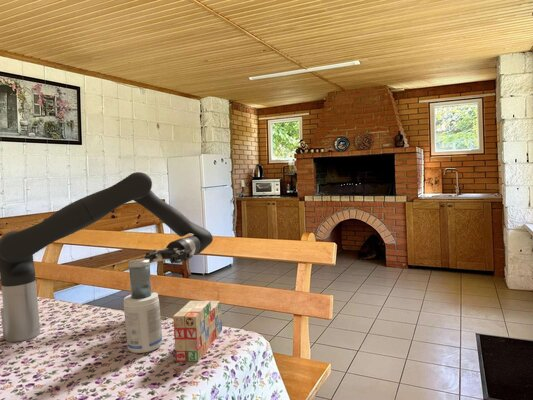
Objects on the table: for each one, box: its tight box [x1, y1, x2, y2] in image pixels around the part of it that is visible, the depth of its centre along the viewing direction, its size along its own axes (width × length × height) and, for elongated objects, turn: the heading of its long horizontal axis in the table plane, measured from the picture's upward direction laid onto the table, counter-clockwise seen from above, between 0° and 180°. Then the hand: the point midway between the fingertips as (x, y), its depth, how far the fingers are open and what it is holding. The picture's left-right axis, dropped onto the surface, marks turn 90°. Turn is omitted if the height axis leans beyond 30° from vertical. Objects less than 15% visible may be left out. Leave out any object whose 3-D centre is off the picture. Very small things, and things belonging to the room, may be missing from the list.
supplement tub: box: [123, 291, 163, 354], centre depth 111 cm, size 10×10×15 cm
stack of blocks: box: [172, 300, 223, 363], centre depth 111 cm, size 21×6×12 cm, turn 170°
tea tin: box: [128, 258, 152, 299], centre depth 110 cm, size 6×6×10 cm
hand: (158, 259), depth 121 cm, fingers open, 8 cm apart
